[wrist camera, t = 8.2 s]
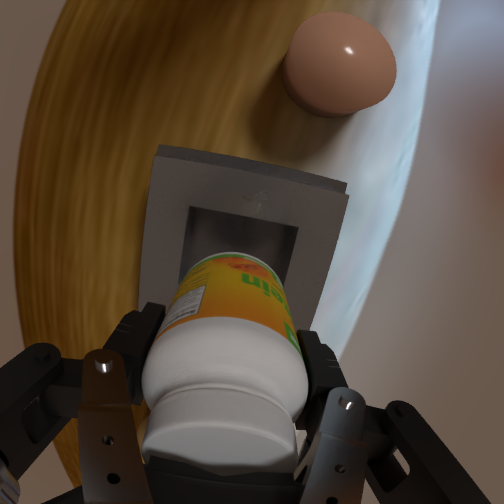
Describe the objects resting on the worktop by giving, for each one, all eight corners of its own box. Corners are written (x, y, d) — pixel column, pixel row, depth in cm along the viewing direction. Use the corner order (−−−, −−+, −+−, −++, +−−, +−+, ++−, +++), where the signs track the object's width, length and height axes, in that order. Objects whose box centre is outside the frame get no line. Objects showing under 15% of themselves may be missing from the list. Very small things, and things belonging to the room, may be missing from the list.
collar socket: (162, 144, 21) (145, 142, 17) (343, 182, 22) (362, 187, 18) (143, 309, 25) (128, 334, 21) (298, 337, 26) (305, 365, 22)
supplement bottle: (305, 303, 15) (364, 461, 6) (229, 358, 16) (221, 516, 7) (235, 226, 14) (217, 357, 5) (158, 294, 15) (80, 444, 6)
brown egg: (290, 28, 18) (301, -1, 13) (373, 54, 19) (400, 34, 14) (273, 104, 20) (281, 90, 15) (360, 129, 21) (388, 123, 16)
